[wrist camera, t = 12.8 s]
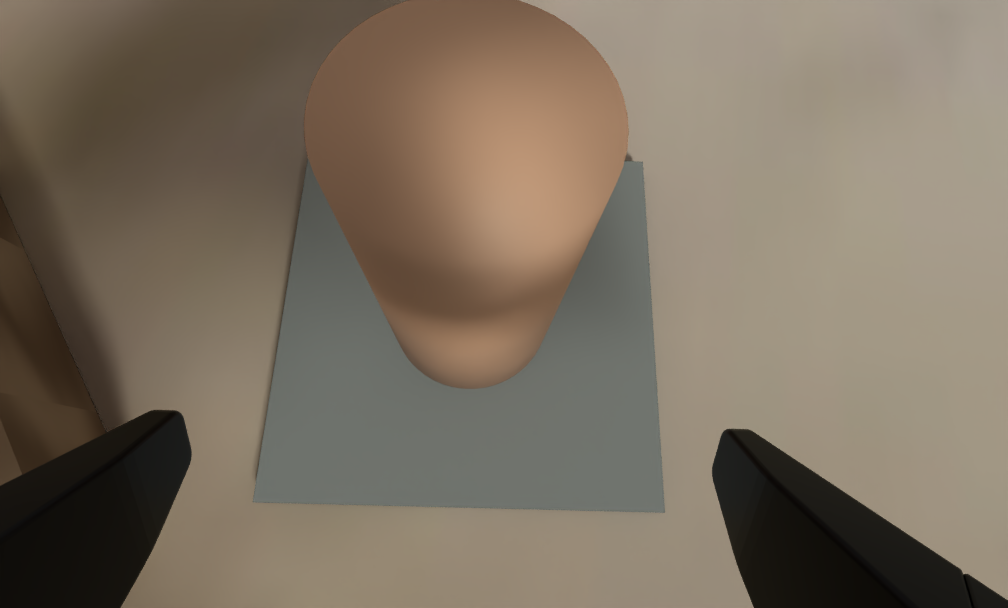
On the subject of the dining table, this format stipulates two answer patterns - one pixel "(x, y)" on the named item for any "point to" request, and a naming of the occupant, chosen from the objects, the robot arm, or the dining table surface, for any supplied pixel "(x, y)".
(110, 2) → the dining table surface
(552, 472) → the pad
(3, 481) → the pocket block
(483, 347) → the peg
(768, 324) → the dining table surface
